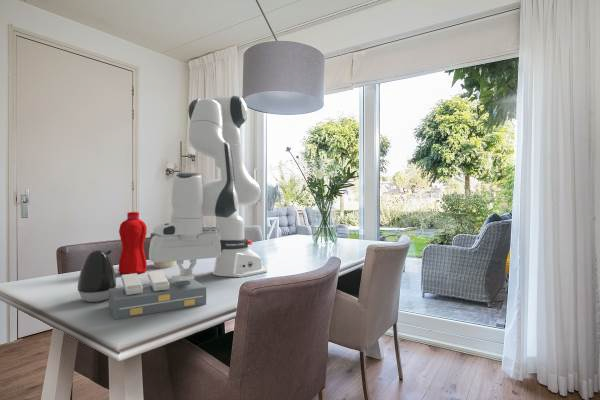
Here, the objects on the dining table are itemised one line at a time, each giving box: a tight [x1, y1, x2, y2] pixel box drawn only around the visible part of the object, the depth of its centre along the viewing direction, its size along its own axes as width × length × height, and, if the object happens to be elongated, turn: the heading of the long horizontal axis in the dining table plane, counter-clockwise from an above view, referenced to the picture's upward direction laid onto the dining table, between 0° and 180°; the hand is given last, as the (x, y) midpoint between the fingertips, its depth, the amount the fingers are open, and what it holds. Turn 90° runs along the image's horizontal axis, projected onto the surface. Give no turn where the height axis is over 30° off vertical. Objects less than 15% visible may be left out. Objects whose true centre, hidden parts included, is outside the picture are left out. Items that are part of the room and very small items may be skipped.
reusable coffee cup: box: [149, 231, 177, 269], centre depth 158 cm, size 13×12×15 cm
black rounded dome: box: [77, 249, 117, 303], centre depth 107 cm, size 10×10×15 cm
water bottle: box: [118, 211, 148, 275], centre depth 144 cm, size 9×11×25 cm
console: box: [108, 278, 207, 320], centre depth 102 cm, size 24×13×6 cm, turn 125°
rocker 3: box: [171, 272, 195, 281], centre depth 106 cm, size 4×9×2 cm, turn 35°
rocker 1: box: [121, 273, 143, 295], centre depth 98 cm, size 4×9×2 cm, turn 35°
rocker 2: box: [147, 270, 170, 291], centre depth 102 cm, size 4×9×2 cm, turn 35°
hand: (186, 275), depth 103 cm, fingers closed, pressing on rocker 3
